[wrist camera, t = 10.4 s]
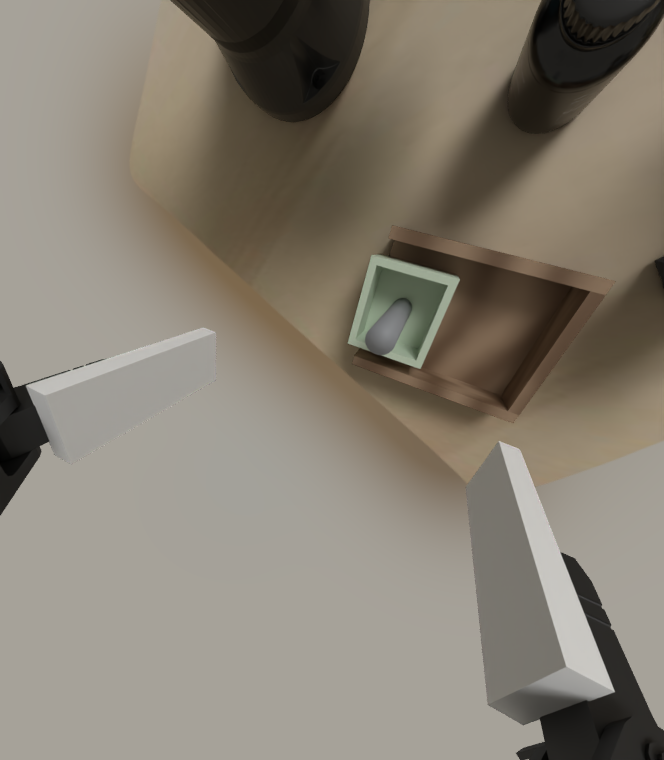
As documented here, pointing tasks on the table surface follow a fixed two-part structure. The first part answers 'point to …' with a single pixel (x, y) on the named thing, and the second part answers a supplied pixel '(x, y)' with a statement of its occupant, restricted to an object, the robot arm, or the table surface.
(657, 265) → the figurine
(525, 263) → the bay
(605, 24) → the supplement bottle
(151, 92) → the table surface
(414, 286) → the green box with handle
